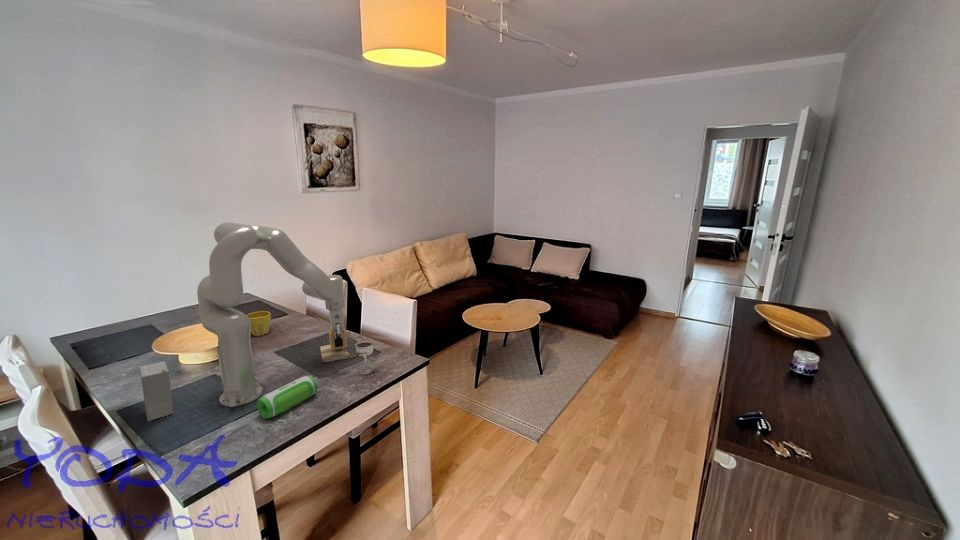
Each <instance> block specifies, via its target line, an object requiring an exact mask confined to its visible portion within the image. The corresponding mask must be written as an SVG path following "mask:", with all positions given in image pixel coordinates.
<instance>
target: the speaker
mask: <svg viewBox="0 0 960 540" xmlns="http://www.w3.org/2000/svg"><path fill="white" fill-rule="evenodd" d="M317 391H318V383H317V381H316V379H315V378H314V377H313V376H312V375H305V376H302V377H299V378H297V379H295V380H293V381H291V382H288V383H287V384H285V385H283V386H281V387H279V388H277V389H275V390H273V391H271V392H269V393H266V394H263V396H262V397H260V398H259V399H258V400H257V402H256V407H257V408H256V409H257V412H258V414H259V415H260V416H261V417H262V418H263V419H265V420H266V419H270V418H273V417H275V416H276V417H277V416H278V415H280V414H283V413H284V412H286V411H288V410H290V409H291V407H292V408H293V406H294V407H295V405H296V404H297V405H299V404H301V403H302V402H301V401H303V400H304V401H306V400H307V399H309V398H311V396H313V395H314V394H316V392H317ZM304 401H303V402H304ZM300 402H301V403H300ZM298 403H299V404H298ZM297 405H296V406H297ZM282 412H283V413H282Z"/></svg>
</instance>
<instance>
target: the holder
mask: <svg viewBox="0 0 960 540" xmlns="http://www.w3.org/2000/svg"><path fill="white" fill-rule="evenodd" d="M319 349H320V350H321V351H320V355H321V356H322V357H321V362H322V361H326V360H332V359H336V358H340V357H345V356H349V355H350V354H349V353H348V352H347V351H346V352H345V351H344V349H345V348H344V349H343V348H339V349H333V350H331V346H330V344H325V345H321V346H319Z"/></svg>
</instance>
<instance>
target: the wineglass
mask: <svg viewBox="0 0 960 540" xmlns="http://www.w3.org/2000/svg"><path fill="white" fill-rule="evenodd" d="M354 345H355V348H356V353H357V354H358V357H360V358H363V361H364V369H367V357H369V356H370V355H372V354H373V353H374V342H373V341H372V340H368V339H366V340H365V339H364V340H359V341H357V342H356V343H354Z"/></svg>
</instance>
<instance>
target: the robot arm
mask: <svg viewBox="0 0 960 540" xmlns="http://www.w3.org/2000/svg"><path fill="white" fill-rule="evenodd" d="M213 237H214V240H215V241H216V243H217V244H216V245H215V246H214V248H213V249H212V251H211V254H210V256H209V261H208V262H209V263H208V266H209V267H208V268H209V269H208V271H209V275H207V276H205V277H203V278H202V279H201V281H200V282H199V284H198V286H197V292H196V295H197V296H196V297H197V302H198V312H199V318H200V322H201V325H202V327H203V328H204V329H205V330H207V331H208V332H210V333H212V334H214V335H215V336H217V342H218V346H217V353H218V357H217V358H218V364H219V371H220V376H221V377H220V378H221V385H222V390H223V393H221V395H220V396H219V398H218V399H219V403H220V405H222V406H224V407H229V408H234V407H240V406H243V405H246V404H249V403H252V402H254V401H256V399H258V398H259V397H260V396H261V395H262V394H263V387H262V386H261V385H260V384H257V380H256V373H255V365H254V358H253V351H252V344H251V341H252V340H251V337H252V336H251V334H252V332H251V322H250V320H249V318H248V317H247V316H246V313H244V312H243V311H240V310H238V309H235V308H234V307H236V306H238V305H239V304H241V303H242V301H243V298H244V284H243V273H242V263H243V260H244V258H245V256H246V254H248V252H249V251H251V250H262V251H266V252H267V253H268V254H269V255H270V256H271V257H272V258H273V259H274V260H275V262H277V264H278V265H280V267H282V269H283V270H284V271H285V272H286V273H288V274H290V275H291V276H293V277H295V278H297V279H299V280H301V281H302V282H303V284H302V286H301V290H302V292H303V294H304V295H305V296H308V297H311V298H314V299H318V300H322V301H324V303H325V309H326V310H327V311H328V312H329V322H330V327H331V329H332V331H333V332H334V333H335V338H334V340H335V347H342V346H343V338H342V332H341V330H342V331H345V330H346V328H345V320H344V319H345V318H344V317H345V316H344V311H343V310H344V308H345V306H346V305H345V304H346V303H345V293H344V281H343V276H341V275H339V274H326V272H324V271H323V270H322V268H320V267H319V266H317V265H316V264H315V263H313V261H311V260H310V259H308V258H307V256H306V255H304V253H303V252H301V250H300V249H299V247H297V245H296V244H295V243H294V242H293V240H292V239H291V238H290V237H289V236H288V234H287V233H285V232H284V230H281V229H279V228H277V227H276V228H275V227H269V226H268V227H267V226H262V225H261V226H258V225H250V224H243V223H242V224H241V223H234V222H223V223H221V224H219V225H217V226H216V228H215V229H214V231H213ZM335 330H337V331H335ZM336 333H337V334H336Z"/></svg>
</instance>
